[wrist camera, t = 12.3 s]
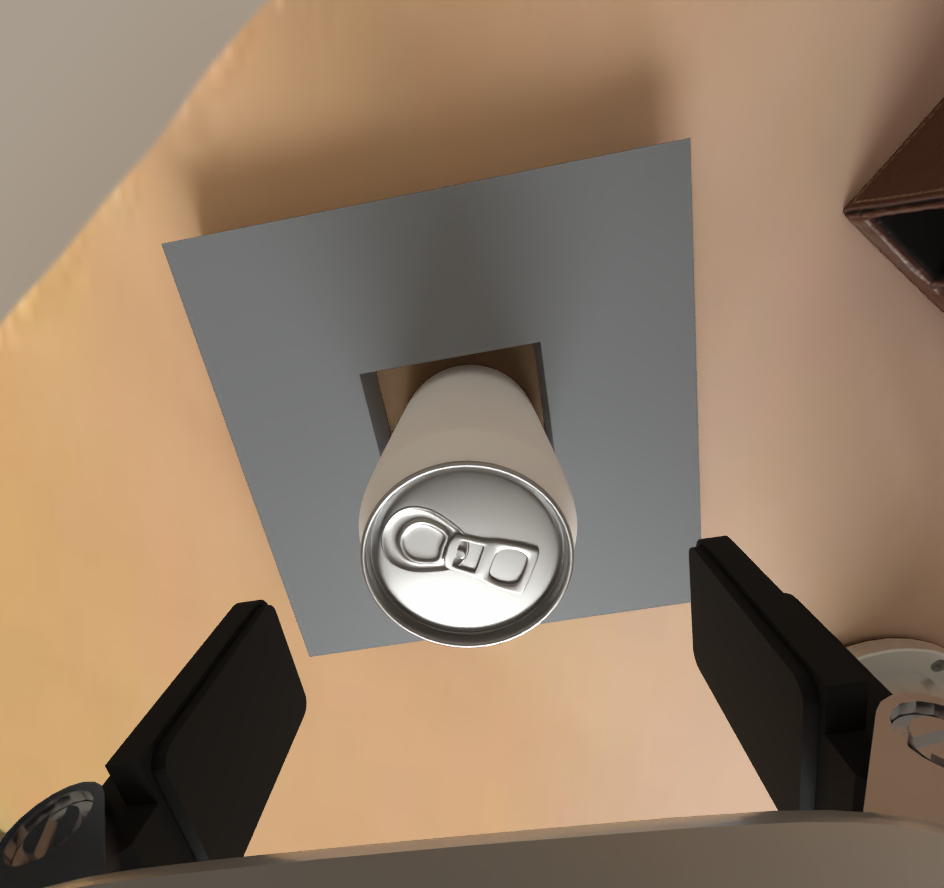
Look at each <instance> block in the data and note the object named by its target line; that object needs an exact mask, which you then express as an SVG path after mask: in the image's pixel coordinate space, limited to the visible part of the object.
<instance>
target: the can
mask: <svg viewBox="0 0 944 888" xmlns="http://www.w3.org/2000/svg"><path fill="white" fill-rule="evenodd" d="M359 537H360V543H361V548H360V560H361V568H362V573H363V577H364V580H365V583H366V585H367V588H368V590H369V592H370V594H371V596H372V597H373V599H374V600H375V602H376V603H377V605H378V606H379V607H380V609H381V610H382V611H383V612H384V613H385V614H386V615H387V616H388V617H389V618H390V619H391V620H392V621H393V622H394V623H396V624H397V625H398V626H400V627H401V628H403V629H404V630H406V631H407V632H409V633H411V634H413V635H415V636H417V637H419V638H421V639H424V640H427V641H429V642H433V643H436V644H440V645H445V646H451V647H461V648H475V647H485V646H491V645H496V644H500V643H503V642H506V641H509V640H512V639H514V638H517V637H519V636H521V635H523V634H525V633H526V632H528V631H530V630H531V629H533V628H534V627H536V626H537V625H538V624H540V623H541V622H542V621H543V620H544V619H546V618H547V617H548V616H549V615H550V614H551V612H552V611H553V610H554V609H555V608H556V606H557V605H558V604H559V602H560V601H561V599H562V597H563V596H564V594H565V592H566V590H567V588H568V585H569V583H570V580H571V576H572V572H573V566H574V548H575V543H576V537H577V515H576V509H575V504H574V500H573V496H572V493H571V490H570V488H569V485H568V482H567V480H566V478H565V475H564V473H563V471H562V468H561V466H560V464H559V462H558V459H557V457H556V455H555V453H554V451H553V448H552V446H551V444H550V442H549V440H548V438H547V435H546V433H545V431H544V429H543V427H542V425H541V422H540V420H539V418H538V416H537V414H536V412H535V410H534V408H533V406H532V404H531V402H530V400H529V398H528V397H527V395H526V394H525V392H524V391H523V390H522V388H521V387H520V386H519V385H518V384H517V383H516V382H515V381H514V380H512V379H511V378H510V377H508V376H507V375H505V374H504V373H502V372H500V371H498V370H495V369H493V368H490V367H486V366H481V365H460V366H455V367H451V368H448V369H445V370H443V371H441V372H439V373H437V374H435V375H433V376H432V377H431V378H429V379H428V380H427V381H426V382H425V383H423V384H422V385H421V386H420V387H419V389H418V390H417V391H416V392H415V393H414V395H413V396H412V398H411V400H410V401H409V403H408V405H407V407H406V409H405V411H404V413H403V414H402V416H401V418H400V420H399V422H398V424H397V426H396V428H395V430H394V432H393V434H392V436H391V438H390V440H389V442H388V444H387V445H386V447H385V449H384V451H383V453H382V455H381V457H380V459H379V461H378V463H377V465H376V468H375V470H374V472H373V474H372V476H371V478H370V480H369V483H368V485H367V487H366V490H365V493H364V496H363V499H362V503H361V508H360V513H359Z"/></svg>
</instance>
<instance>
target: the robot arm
mask: <svg viewBox="0 0 944 888" xmlns="http://www.w3.org/2000/svg"><path fill="white" fill-rule="evenodd" d="M689 572H690V592H691V613H692V634H693V651H694V656H695V660H696V663H697V666H698V668H699V670H700V671H701V673H702V675H703V677H704V679H705V680H706V682H707V684H708V686H709V688H710V689H711V691H712V693H713V695H714V697H715V698H716V700H717V702H718V704H719V706H720V707H721V709H722V711H723V713H724V714H725V716H726V718H727V720H728V722H729V723H730V725H731V727H732V729H733V731H734V732H735V734H736V736H737V738H738V740H739V741H740V743H741V745H742V747H743V749H744V750H745V752H746V754H747V756H748V757H749V759H750V761H751V763H752V765H753V766H754V768H755V770H756V772H757V774H758V775H759V777H760V779H761V781H762V783H763V784H764V786H765V788H766V790H767V791H768V793H769V795H770V797H771V799H772V800H773V802H774V804H775V806H776V808H777V809H778V811H766V812H751V813H736V814H721V815H706V816H691V817H676V818H663V819H651V820H640V821H628V822H616V823H605V824H593V825H581V826H569V827H558V828H546V829H534V830H523V831H512V832H501V833H490V834H479V835H468V836H457V837H445V838H434V839H424V840H413V841H402V842H391V843H381V844H370V845H359V846H348V847H338V848H328V849H318V850H308V851H298V852H288V853H277V854H267V855H257V856H247V857H243V856H244V854H245V851H246V849H247V847H248V844H249V842H250V840H251V838H252V835H253V833H254V831H255V828H256V826H257V824H258V821H259V819H260V817H261V814H262V812H263V810H264V807H265V805H266V803H267V800H268V798H269V796H270V793H271V791H272V789H273V787H274V784H275V782H276V780H277V777H278V775H279V773H280V770H281V768H282V766H283V763H284V761H285V759H286V756H287V754H288V752H289V749H290V747H291V745H292V743H293V740H294V738H295V736H296V733H297V731H298V729H299V726H300V724H301V722H302V719H303V717H304V714H305V711H306V696H305V693H304V690H303V687H302V684H301V681H300V678H299V676H298V673H297V670H296V667H295V664H294V661H293V659H292V656H291V653H290V650H289V647H288V644H287V642H286V639H285V636H284V633H283V630H282V627H281V625H280V622H279V619H278V616H277V613H276V611H275V609H274V607H273V606H271V605H268V604H267V603H266V602H265V601H264V600H256V601H249V602H241V603H237V604H235V605H234V606H233V607H232V609H231V610H230V611H229V612H228V613H227V615H226V616H225V617H224V618H223V620H222V621H221V622H220V623H219V625H218V626H217V627H216V628H215V630H214V631H213V632H212V633H211V635H210V636H209V637H208V638H207V640H206V641H205V642H204V643H203V645H202V646H201V647H200V648H199V650H198V651H197V652H196V653H195V654H194V656H193V657H192V658H191V659H190V661H189V662H188V663H187V664H186V666H185V667H184V668H183V669H182V671H181V672H180V673H179V674H178V676H177V677H176V678H175V679H174V681H173V682H172V683H171V684H170V686H169V687H168V688H167V689H166V691H165V692H164V693H163V694H162V695H161V697H160V698H159V699H158V700H157V702H156V703H155V704H154V705H153V707H152V708H151V709H150V710H149V712H148V713H147V714H146V715H145V717H144V718H143V719H142V720H141V722H140V723H139V724H138V725H137V727H136V728H135V729H134V730H133V732H132V733H131V734H130V735H129V736H128V738H127V739H126V740H125V741H124V743H123V744H122V745H121V746H120V748H119V749H118V750H117V751H116V753H115V754H114V755H113V756H112V758H111V759H110V760H109V761H108V763H107V764H106V765H105V767H106V769H107V770H108V772H109V774H110V777H109V778H108V779H107V780H106V782H105V783H104V784H103V786H102V785H100V784H98V783H96V782H81V783H78V784H75V785H71V786H68V787H66V788H64V789H62V790H60V791H58V792H56V793H54V794H52V795H51V796H49V797H48V798H46V799H45V800H43V801H42V802H40V803H39V804H37V805H36V806H35V807H33V808H32V809H31V810H30V811H29V812H27V813H26V814H25V815H24V816H23V817H21V818H20V819H19V820H18V821H17V822H16V823H15V824H14V825H13V827H12V828H11V829H10V830H9V831H8V832H7V833H6V834H5V836H4V837H3V838H2V840H1V841H0V888H944V648H943V647H940V646H938V645H935V644H932V643H930V642H926V641H920V640H915V639H901V638H887V639H880V640H872V641H866V642H862V643H858V644H855V645H851V646H848V647H845V646H844V645H843V644H842V643H841V642H840V641H839V640H838V639H837V638H836V637H835V636H834V635H833V634H832V633H831V632H830V631H829V630H828V629H827V628H826V627H825V626H824V625H823V624H822V623H821V622H820V621H819V620H818V619H817V618H816V617H815V616H814V615H813V614H812V613H811V612H810V611H809V610H808V609H807V608H806V607H805V606H804V605H803V604H802V603H801V602H800V601H799V600H798V599H796V598H795V597H794V596H792V595H791V594H787V593H783V592H782V591H781V590H780V589H779V588H778V587H777V586H776V585H775V584H774V583H773V582H772V581H771V580H770V579H769V578H768V577H767V576H766V575H765V574H764V573H763V572H762V571H761V570H760V568H759V567H758V566H757V565H756V564H755V563H754V562H753V561H752V560H751V559H750V558H749V557H748V556H747V555H746V554H745V553H744V552H743V551H742V550H741V549H740V548H739V547H738V546H737V545H736V544H735V543H734V542H733V541H732V540H731V539H730V538H729V537H728V536H720V537H713V538H705V539H699V540H698V541H697V544H696V547H691V548H690V549H689Z"/></svg>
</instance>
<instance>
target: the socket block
mask: <svg viewBox="0 0 944 888" xmlns="http://www.w3.org/2000/svg"><path fill="white" fill-rule="evenodd" d="M162 247H163V249H164V252H165V255H166V258H167V261H168V263H169V266H170V269H171V272H172V275H173V277H174V280H175V283H176V286H177V289H178V291H179V294H180V297H181V300H182V302H183V305H184V308H185V311H186V314H187V316H188V319H189V322H190V325H191V328H192V330H193V333H194V336H195V339H196V342H197V344H198V347H199V350H200V353H201V355H202V358H203V361H204V364H205V367H206V369H207V372H208V375H209V378H210V381H211V383H212V386H213V389H214V392H215V394H216V397H217V400H218V403H219V406H220V408H221V411H222V414H223V417H224V420H225V422H226V425H227V428H228V431H229V434H230V436H231V439H232V442H233V445H234V447H235V450H236V453H237V456H238V459H239V461H240V464H241V467H242V470H243V473H244V475H245V478H246V481H247V484H248V487H249V489H250V492H251V495H252V498H253V500H254V503H255V506H256V509H257V512H258V514H259V517H260V520H261V523H262V526H263V528H264V531H265V534H266V537H267V540H268V542H269V545H270V548H271V551H272V553H273V556H274V559H275V562H276V565H277V567H278V570H279V573H280V576H281V579H282V581H283V584H284V587H285V590H286V592H287V595H288V598H289V601H290V604H291V606H292V609H293V612H294V615H295V618H296V620H297V623H298V626H299V629H300V632H301V634H302V637H303V640H304V643H305V645H306V648H307V651H308V654H309V657H312V656H319V655H326V654H333V653H340V652H347V651H354V650H361V649H368V648H375V647H382V646H389V645H396V644H403V643H410V642H416V641H423V640H424V639H421V638H419V637H417V636H415V635H413V634H411V633H409V632H407V631H406V630H404V629H403V628H401V627H400V626H398V625H397V624H396V623H394V622H393V621H392V620H391V619H390V618H389V617H388V616H387V615H386V614H385V613H384V612H383V611H382V610H381V609H380V607H379V606H378V605H377V603H376V602H375V600H374V599H373V597H372V596H371V594H370V592H369V590H368V588H367V585H366V583H365V580H364V577H363V573H362V568H361V560H360V548H361V543H360V537H359V513H360V508H361V503H362V499H363V496H364V493H365V490H366V487H367V485H368V483H369V480H370V478H371V476H372V474H373V472H374V470H375V468H376V465H377V463H378V461H379V459H380V457H381V455H382V453H383V451H384V449H385V447H386V445H387V444H388V442H389V440H390V438H391V432H390V428H389V424H388V420H387V416H386V412H385V407H384V403H383V399H382V395H381V391H380V387H379V383H378V379H377V375H376V371H380V370H386V369H392V368H397V367H403V366H408V365H414V364H420V363H425V362H431V361H436V360H442V359H448V358H453V357H459V356H464V355H470V354H476V353H481V352H487V351H492V350H498V349H504V348H509V347H515V346H520V345H526V344H531V343H533V344H534V351H535V359H536V366H537V374H538V381H539V388H540V396H541V403H542V411H543V418H544V425H545V433H546V435H547V438H548V440H549V442H550V444H551V446H552V448H553V451H554V453H555V455H556V457H557V459H558V462H559V464H560V466H561V468H562V471H563V473H564V475H565V478H566V480H567V482H568V485H569V488H570V490H571V493H572V496H573V500H574V504H575V509H576V515H577V537H576V543H575V548H574V566H573V572H572V576H571V580H570V583H569V585H568V588H567V590H566V592H565V594H564V596H563V597H562V599H561V601H560V602H559V604H558V605H557V606H556V608H555V609H554V610H553V611H552V612H551V614H550V615H549V616H548V617H547V618H546V619H544V620H543V621H542V622H541V623H540V624H542V623H549V622H556V621H563V620H570V619H577V618H584V617H591V616H598V615H605V614H612V613H619V612H626V611H633V610H640V609H647V608H654V607H661V606H668V605H675V604H681V603H688V602H691V592H690V572H689V549H690V548H691V547H696V544H697V541H698V540H699V539H701V520H700V483H699V445H698V408H697V371H696V333H695V296H694V259H693V221H692V184H691V147H690V138H687V139H682V140H677V141H672V142H667V143H662V144H657V145H653V146H648V147H643V148H638V149H633V150H628V151H623V152H618V153H613V154H608V155H603V156H598V157H593V158H588V159H583V160H578V161H573V162H568V163H563V164H558V165H553V166H548V167H543V168H538V169H533V170H528V171H523V172H518V173H513V174H508V175H503V176H498V177H493V178H488V179H483V180H478V181H473V182H468V183H463V184H458V185H453V186H448V187H443V188H438V189H433V190H428V191H423V192H418V193H413V194H408V195H403V196H398V197H393V198H388V199H383V200H378V201H373V202H368V203H363V204H359V205H354V206H349V207H344V208H339V209H334V210H329V211H324V212H319V213H314V214H309V215H304V216H299V217H294V218H289V219H284V220H279V221H274V222H269V223H264V224H259V225H254V226H249V227H244V228H239V229H234V230H229V231H224V232H219V233H214V234H209V235H204V236H199V237H194V238H189V239H184V240H179V241H174V242H169V243H164V244H162Z"/></svg>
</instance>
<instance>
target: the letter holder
mask: <svg viewBox="0 0 944 888" xmlns="http://www.w3.org/2000/svg"><path fill="white" fill-rule="evenodd" d="M843 213H844V214H845V216H846V217H847V218H848V219H849V220H850V222H851V223H853V224H854V225H855V226H856V227H857V228H858V229H859V230H860V231H861V232H862V233H863V234H864V235H865V236H866V237H867V238H868V239H869V240H870V241H871V242H872V243H873V244H874V245H875V246H876V247H877V248H878V249H879V250H880V252H881V253H883V254H884V255H885V256H886V257H887V258H888V259H889V260H890V261H891V262H892V263H893V264H894V265H895V266H896V267H897V268H898V269H899V270H900V271H901V272H903V274H904V275H905V276H906V277H907V278H908V279H909V280H910V281H911V282H912V283H913V284H915V285H916V286H917V287H918V288H919V289H920V291H921V292H922V293H923V294H925V295H926V296H927V297H928V299H930V300H931V301H932V302H933V303H934V304H935V305H936V306H937V307H938V308H940V310H941V311H942V312H944V98H943V99H942V101H941V102H940V103H939V104H938V105H937V106H936V107H935V108H934V110H933V111H932V112H931V113H930V114H929V115H928V116H927V117H926V119H925V120H924V121H923V122H922V123H921V124H920V125H919V126H918V128H917V129H916V130H915V131H914V132H913V133H912V134H911V136H910V137H909V138H908V139H907V140H906V141H905V142H904V143H903V145H902V146H901V147H900V148H899V149H898V150H897V151H896V152H895V154H894V155H893V156H892V157H891V158H890V159H889V160H888V161H887V163H886V164H885V165H884V166H883V167H882V168H881V170H880V171H879V172H878V173H877V174H876V175H875V176H874V177H873V178H872V179H871V180H870V182H869V183H868V184H867V185H866V186H865V187H864V188H863V189H862V190H861V191H860V193H859V194H858V195H857V196H856V197H855V198H854V199H853V200H852V201H851V202H850V203H849V204H848V206H847V207H846V208H845V209H844V211H843Z"/></svg>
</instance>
